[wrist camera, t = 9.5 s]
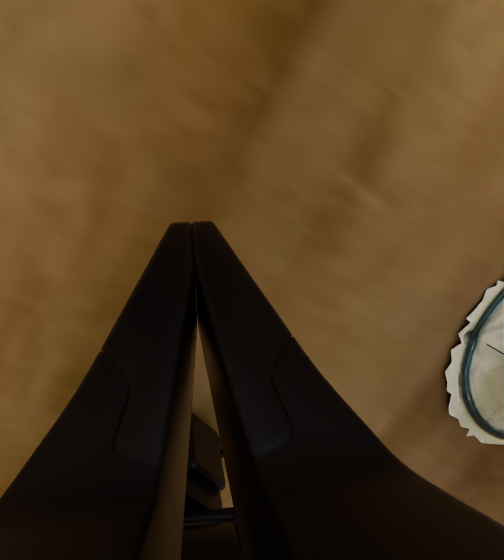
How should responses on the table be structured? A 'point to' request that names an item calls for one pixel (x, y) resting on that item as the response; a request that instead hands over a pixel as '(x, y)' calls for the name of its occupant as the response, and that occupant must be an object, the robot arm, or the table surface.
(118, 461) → the robot arm
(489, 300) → the decorative vase
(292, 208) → the table surface
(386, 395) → the table surface
